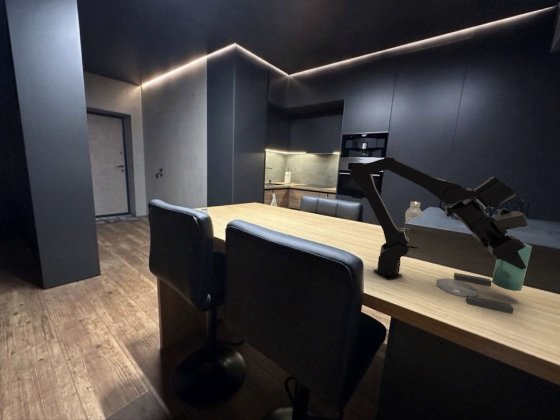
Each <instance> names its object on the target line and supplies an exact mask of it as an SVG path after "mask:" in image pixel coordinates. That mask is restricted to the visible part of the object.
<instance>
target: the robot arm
mask: <svg viewBox="0 0 560 420" xmlns="http://www.w3.org/2000/svg"><path fill="white" fill-rule="evenodd" d="M384 171H389V172H392V173H394V174H395V175H398V176H399V177H401V178H404V179H405V180H407V181H410V182H411V183H414V184H415V185H417V186H420V187H422V188H424V189H426V190H427V191H428V192H430V193H431V194H432V195H433V196H435V197H436V198H437V199H439V200H440V201H442V202H443V203H445V204H449V205H450V206H448V205H446V206H445V211H444V215H445V216H446V217H448V218H449V217H451V216H452V215H455V216H456V217H457V218H458V219H459V221H460V222H462V224H463V225H465V227H466V228H467V229H468V230H469V231H470V232H471V233H472V236H473V237H474V238H475V240H476V241H477V242H480V244H481V245H482V246H483V247H485V248H487V251H488V252H489V253H490V254H491V255H492V256H493V257H494V258H495V260H497V259H498V260H499V259H501V260H503V261H505V262H507V263H509V264H511V265H513V266H515V267H517V268H519V269H522V270H523V269H525V268H526V266H525V264H524V262H523V260H522V258H521V257H520V255H519V253H518V251H519V250H521V249H523V248H524V247H525V245H524V244H523V243H524V242H522V241H521V240H520V239H519V238H517V237H515V236H514V235H509V234H508V233H509V231H508V230H513V229H517V228H526V227H528V226H529V222H528V220H527V218H526V215H525V213H523V212H521V211H518V210H517V211H515V210H512V211H510V210H509V209H507V208H501V209H499V210H498V213H497V214H496V215H495V216H491V215H490V214H488V213H487V212H486V211H485V210H484V209H487V208H490V209H495V208H497V207H498V206H500V205H501V204H503V203H505V202H507V201H509V200H510V199H511V198H512V199H513V198H514V197H515V196H516V193H515V191H514V190H513V188H511V186H509V185H507V184H505V183H504V182H502V181H501V180H500V179H498V178H497V177H496V176H491V177H489V178H488V179H486V180H485V182H483V183H481V184H480V185H479V186H477V187H475V188H474V189H473V188H470V187H467V188H465V187H463V186H462V185H460V184H458V183H456V182H453V181H448V180H445V179H441V178H438V177H434V176H431V175H429V174H427V173H425V172H422V171H421V170H418V169H416V168H415V167H411V166H410V165H407V164H405V163H403V162H402V161H399V160H397V159H395V158H394V157H393V156H385V157H384V158H381V159H377V160H374V161H370V162H367V163H366V162H357V163H356V162H355V163H354V164H353V165H352V166H351V167H350V170H349V175H350V177H351V179H352V180H353V181H354V183H355V184H356V186H357V187H358V188H359V189H360V190H361V191H362V192H363V194H364V196H365V198H366V199H367V202H368V203H369V205H370V208H371V210H372V211H373V213H374V215H375V217H376V220H377V221H378V224H379V225H380V227H381V229H382V232H383V235H384V241H385V242H384V244H382V245H381V246H380V252H379V255H378V261H377V268H376V269H373V273H375V274H377V275H379V276H381V277H382V278H384V279H386V280H387V281H388V280H394V279H398V278H403V274H401V273H400V270H401V257H404V256H406V255H407V254H408V252H409V251H410V250H409V247H410V246H408V244H409V238H408V237H407V236H406V234H405V232H404V231H405V228H404V227H403V226H401V227H397V225H396V224H395V221H394V220H393V219H392V217H391V215H390V213H389V211H388V208H387V206H386V205H385V203H384V201H383V199H382V197H381V194H380V193H379V191H378V189H377V188H376V185H375V181H374V176H373V175H375V174H377V173H380V172H384ZM481 206H482V207H481ZM483 208H484V209H483ZM506 234H507V235H506Z"/></svg>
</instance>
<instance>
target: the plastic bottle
mask: <svg viewBox="0 0 560 420" xmlns="http://www.w3.org/2000/svg"><path fill="white" fill-rule="evenodd" d="M409 206H410V207H408V208H407V210H406V211H405V214H404V215H405V223H406V222H407V221H408V220H410V219H412V218H414V217H416V216H417V215H418V216H419V217H423V212H422V210H421V208H420V207H421V202H420V201H415V200H414V201H413V200H411V201H410V204H409ZM418 216H417V217H418Z"/></svg>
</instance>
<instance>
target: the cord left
mask: <svg viewBox="0 0 560 420" xmlns="http://www.w3.org/2000/svg"><path fill="white" fill-rule="evenodd" d="M453 279H457V280H459V281H461V280H462V282H466V281H467V282H466V283H471V282H472V284H477V285H483V286H487V287H488V286H489V287H491V286H492V284H493V283H492V279H490V278H486V277H482V276H481V277H480V276H475V275H470V274H465V273H464V274H463V273H460V272H459V273H458V272H454V275H453Z"/></svg>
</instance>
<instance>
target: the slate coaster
mask: <svg viewBox="0 0 560 420" xmlns="http://www.w3.org/2000/svg"><path fill="white" fill-rule="evenodd" d="M435 284H437V285H436V286H437V287H438V288H439V289H440V290H442V291H444V292H445V293H448V294H451V295H453V296H457V297H461V298H466V296H467V295H469V296H474V297H478V294H479V291H478V289H477V288H476V287H475V286H473V285H471V284H469V283H468V282H466V281H461V280H455V278H447V277H446V278H445V277H443V278H437V280H436V281H435Z"/></svg>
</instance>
